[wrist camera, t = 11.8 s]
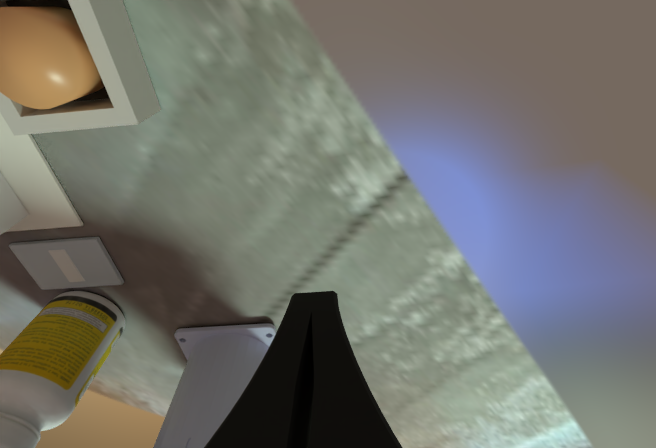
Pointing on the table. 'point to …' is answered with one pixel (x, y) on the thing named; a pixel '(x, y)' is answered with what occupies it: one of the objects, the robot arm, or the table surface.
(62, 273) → the card
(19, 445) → the supplement bottle
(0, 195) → the grey rectangular prism
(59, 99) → the button
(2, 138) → the paper sheet
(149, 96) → the button box
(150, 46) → the table surface
